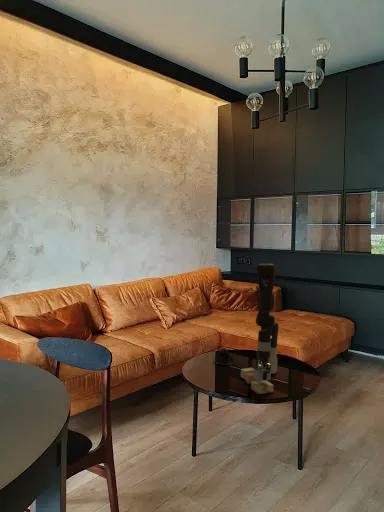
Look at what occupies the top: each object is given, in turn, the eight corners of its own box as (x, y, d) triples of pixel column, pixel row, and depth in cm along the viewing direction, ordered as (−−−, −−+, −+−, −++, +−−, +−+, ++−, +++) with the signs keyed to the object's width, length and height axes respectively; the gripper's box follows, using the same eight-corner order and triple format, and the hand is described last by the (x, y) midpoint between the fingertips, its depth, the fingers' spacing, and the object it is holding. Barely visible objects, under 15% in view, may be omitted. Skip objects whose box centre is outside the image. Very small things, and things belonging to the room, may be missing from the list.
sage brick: (251, 375, 248) (251, 367, 248) (255, 377, 244) (255, 369, 244) (240, 376, 245) (240, 369, 244) (244, 379, 241) (245, 371, 240)
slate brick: (266, 377, 227) (266, 368, 227) (270, 380, 223) (270, 371, 222) (254, 378, 224) (254, 369, 224) (257, 381, 220) (258, 372, 220)
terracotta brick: (257, 380, 240) (258, 372, 239) (260, 383, 235) (260, 375, 235) (245, 381, 238) (245, 373, 238) (248, 383, 233) (248, 375, 233)
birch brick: (265, 386, 229) (266, 380, 229) (273, 392, 222) (273, 385, 222) (250, 388, 226) (251, 381, 226) (257, 394, 218) (258, 387, 218)
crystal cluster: (226, 368, 261) (229, 354, 261) (210, 362, 269) (212, 348, 269) (236, 365, 272) (239, 351, 271) (220, 359, 280) (222, 345, 279)
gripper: (276, 352, 217) (274, 382, 218) (263, 345, 231) (261, 373, 231) (264, 352, 215) (263, 383, 215) (251, 345, 228) (250, 374, 229)
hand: (262, 378), depth 223 cm, fingers closed on slate brick, 4 cm apart
